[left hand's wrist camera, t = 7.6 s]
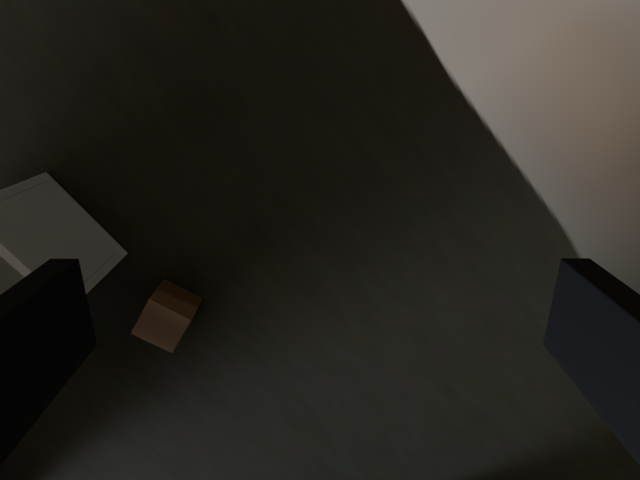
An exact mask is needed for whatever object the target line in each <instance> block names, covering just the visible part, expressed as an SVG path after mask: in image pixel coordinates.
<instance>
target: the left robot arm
mask: <svg viewBox="0 0 640 480" xmlns="http://www.w3.org/2000/svg"><path fill="white" fill-rule="evenodd" d="M96 345H97V344H96V339H95V334H94V329H93V324H92V320H91V315H90V310H89V305H88V301H87V296H86V291H85V286H84V282H83V277H82V272H81V267H80V262H79V259H49V260H48V261H46V262H45V263H44V264H42V265H41V266H39V267H38V268H37V269H35V270H34V271H33V272H31V273H30V274H28V275H27V276H26V277H24V278H23V279H21V280H20V281H19V282H17V283H16V284H15V285H13V286H12V287H10V288H9V289H8V290H6V291H5V292H3V293H2V294H1V295H0V466H1V464H2V463H3V462H4V460H5V459H6V458H7V457H8V455H9V454H10V453H11V452H12V450H13V449H14V448H15V447H16V445H17V444H18V443H19V442H20V440H21V439H22V438H23V437H24V435H25V434H26V433H27V432H28V430H29V429H30V428H31V427H32V425H33V424H34V423H35V422H36V420H37V419H38V418H39V416H40V415H41V414H42V413H43V411H44V410H45V409H46V408H47V406H48V405H49V404H50V403H51V401H52V400H53V399H54V398H55V396H56V395H57V394H58V393H59V391H60V390H61V389H62V388H63V386H64V385H65V384H66V383H67V381H68V380H69V379H70V378H71V376H72V375H73V374H74V373H75V371H76V370H77V369H78V367H79V366H80V365H81V364H82V362H83V361H84V360H85V359H86V357H87V356H88V355H89V354H90V352H91V351H92V350H93V349H94V347H95V346H96ZM543 345H544V346H545V347H546V349H547V350H548V351H549V352H550V354H551V355H552V356H553V357H554V359H555V360H556V361H557V362H558V364H559V365H560V366H561V367H562V369H563V370H564V371H565V373H566V374H567V375H568V376H569V378H570V379H571V380H572V381H573V383H574V384H575V385H576V386H577V388H578V389H579V390H580V391H581V393H582V394H583V395H584V396H585V398H586V399H587V400H588V401H589V403H590V404H591V405H592V406H593V408H594V409H595V410H596V411H597V413H598V414H599V415H600V417H601V418H602V419H603V420H604V422H605V423H606V424H607V425H608V427H609V428H610V429H611V430H612V432H613V433H614V434H615V435H616V437H617V438H618V439H619V440H620V442H621V443H622V444H623V445H624V447H625V448H626V449H627V450H628V452H629V453H630V454H631V455H632V457H633V458H634V459H635V460H636V462H637V463H638V464H639V466H640V295H639V294H638V293H637V292H635V291H634V290H632V289H631V288H630V287H628V286H627V285H625V284H624V283H623V282H621V281H620V280H619V279H617V278H616V277H614V276H613V275H612V274H610V273H609V272H607V271H606V270H605V269H603V268H602V267H601V266H599V265H598V264H596V263H595V262H594V261H592V260H591V259H561V262H560V267H559V272H558V277H557V282H556V286H555V291H554V296H553V301H552V305H551V310H550V315H549V320H548V324H547V329H546V334H545V339H544V344H543Z"/></svg>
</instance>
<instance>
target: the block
mask: <svg viewBox="0 0 640 480" xmlns="http://www.w3.org/2000/svg"><path fill="white" fill-rule="evenodd" d="M201 301H202V298H201V297H199V296H197V295H195V294H193V293H191V292H189V291H187V290H186V289H184V288H182V287H180V286H178V285H176V284H174V283H172V282H170V281H168V280H166V279H163V280H162V282H161V283H160V284H159V286H158V287H157V288H156V290H155V291H154V293H153V294H152V295H151V297H150V298H149V300H148V301H147V303H146V305H145V307H144V309H143V311H142V313H141V315H140V316H139V318H138V320H137V322H136V324H135V326H134V328H133V330H132V331H131V334H133V335H135V336H137V337H139V338H141V339H143V340H145V341H147V342H149V343H152V344H154V345H156V346H158V347H160V348H162V349H164V350H166V351H168V352H170V353H173V352H174V350H175V348H176V347H177V345H178V343H179V341H180V340H181V338H182V336H183V335H184V333H185V331H186V329H187V328H188V326H189V324H190V323H191V321H192V319H193V317H194V315H195V313H196V311H197V309H198V307H199V305H200V303H201Z"/></svg>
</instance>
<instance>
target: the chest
mask: <svg viewBox="0 0 640 480" xmlns="http://www.w3.org/2000/svg"><path fill="white" fill-rule="evenodd" d="M127 254H128V253H127V252H126V251H125V250H124V249H123V248H122V247H121V246H120V245H119V244H118V243H117V242H116V241H115V240H114V239H113V238H112V237H111V236H110V235H109V234H108V233H107V232H106V231H105V230H104V229H103V228H102V227H101V226H100V225H99V224H98V223H97V222H96V221H95V220H94V219H93V218H92V217H91V216H90V215H89V214H88V213H87V212H86V211H85V210H84V209H83V208H82V207H81V206H80V205H79V204H78V203H77V202H76V201H75V200H74V199H73V198H72V197H71V196H70V195H69V194H68V193H67V192H66V191H65V190H64V189H63V188H62V187H61V186H60V185H59V184H58V183H57V182H56V181H55V180H54V179H53V178H52V177H51V176H50V175H49V174H48V173H47V172H45V173H42V174H40V175H37V176H35V177H32V178H29V179H27V180H24V181H22V182H19V183H17V184H14V185H12V186H9V187H7V188H4V189H2V190H0V295H1V294H2V293H3V292H5V291H6V290H8V289H9V288H10V287H12V286H13V285H15V284H16V283H17V282H19V281H20V280H21V279H23V278H24V277H26V276H27V275H28V274H30V273H31V272H33V271H34V270H35V269H37V268H38V267H39V266H41V265H42V264H44V263H45V262H46V261H48V260H49V259H79V262H80V267H81V272H82V277H83V282H84V286H85V291H86V294H87V293H88V292H89V291H90V290H91V289H92V288H93V287H94V286H95V285H96V284H97V283H98V282H99V281H100V280H101V279H102V278H103V277H104V276H105V275H107V274H108V273H109V272H110V271H111V270H112V269H113V268H114V267H115V266H116V265H117V264H118V263H119V262H120V261H121V260H122V259H123V258H124V257H125V256H126V255H127Z"/></svg>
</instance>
